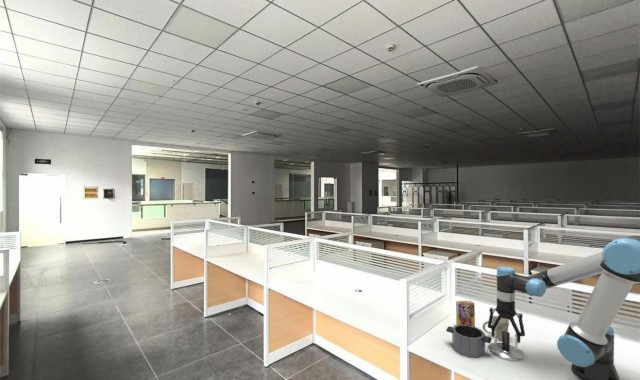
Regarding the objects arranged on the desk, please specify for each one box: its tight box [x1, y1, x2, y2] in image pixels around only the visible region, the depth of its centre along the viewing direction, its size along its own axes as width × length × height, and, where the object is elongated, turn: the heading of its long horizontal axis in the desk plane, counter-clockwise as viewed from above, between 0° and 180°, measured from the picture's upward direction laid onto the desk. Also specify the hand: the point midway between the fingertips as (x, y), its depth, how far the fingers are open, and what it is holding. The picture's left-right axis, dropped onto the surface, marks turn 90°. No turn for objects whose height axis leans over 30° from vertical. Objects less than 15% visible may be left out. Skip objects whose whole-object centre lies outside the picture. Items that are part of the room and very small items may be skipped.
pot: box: [445, 325, 493, 359], centre depth 148 cm, size 20×14×9 cm
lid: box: [487, 331, 525, 362], centre depth 145 cm, size 15×15×10 cm
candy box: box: [455, 300, 476, 327], centre depth 169 cm, size 9×4×15 cm, turn 85°
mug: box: [482, 315, 510, 341], centre depth 159 cm, size 8×13×10 cm, turn 78°
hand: (505, 345), depth 145 cm, fingers open, 8 cm apart
